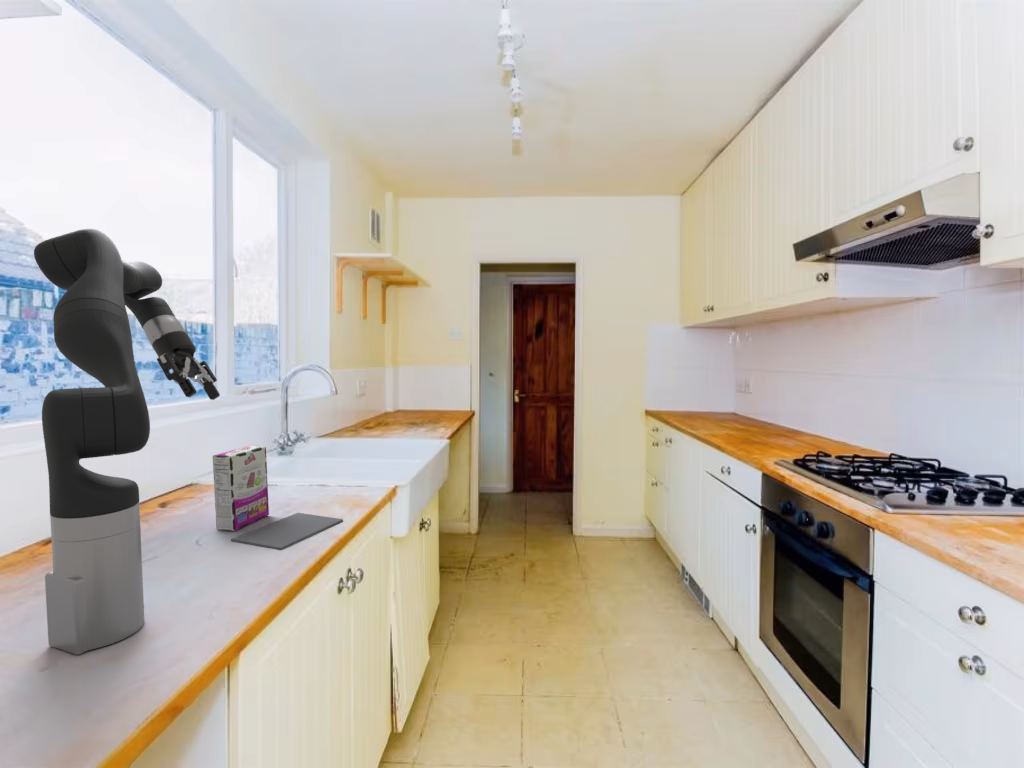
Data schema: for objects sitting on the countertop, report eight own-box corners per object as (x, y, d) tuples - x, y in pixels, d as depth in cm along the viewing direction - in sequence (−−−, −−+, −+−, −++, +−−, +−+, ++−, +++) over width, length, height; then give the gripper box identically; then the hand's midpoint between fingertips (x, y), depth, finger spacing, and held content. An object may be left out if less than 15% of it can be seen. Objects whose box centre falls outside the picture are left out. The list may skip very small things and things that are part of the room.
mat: (280, 549, 98) (280, 547, 98) (231, 540, 102) (230, 538, 102) (343, 520, 114) (343, 519, 114) (297, 514, 119) (297, 512, 119)
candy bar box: (250, 514, 119) (248, 445, 118) (269, 515, 118) (267, 446, 117) (213, 530, 108) (211, 454, 107) (234, 532, 107) (231, 455, 106)
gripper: (177, 353, 125) (209, 407, 123) (131, 342, 111) (168, 403, 109) (202, 336, 125) (235, 390, 123) (161, 323, 111) (197, 384, 109)
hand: (204, 396), depth 116 cm, fingers open, 8 cm apart
